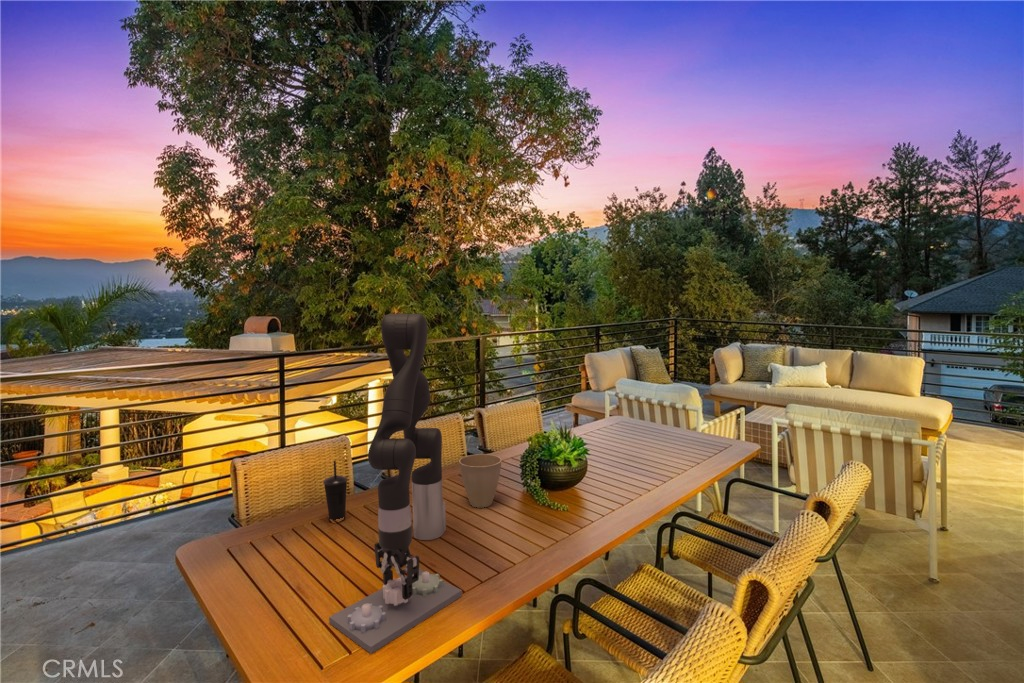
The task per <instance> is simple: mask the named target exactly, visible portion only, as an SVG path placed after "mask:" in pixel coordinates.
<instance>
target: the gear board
mask: <svg viewBox="0 0 1024 683" xmlns="http://www.w3.org/2000/svg"><path fill="white" fill-rule="evenodd" d="M413 576H414V574H413ZM405 577H406V578H407V575H405ZM397 588H401V587H395V588H394V589H397ZM412 592H413V594H412V597H410V598H408V602H406V603H404V602H403V603H399V604H398V605H396V606H394V604H390V603H389V604H386V603H385V599H383V587H382V588H380V589H379V590H376V591H375V592H372V593H371V594H369V595H367V596H366V597H364V598H362V599H360V600H358V601H356V602H354V603H352V604H351V605H349V606H347V607H345V608H342V609H341V610H339V611H338V612H336V613H334V614H332V615H330V616H328V621H329V622H328V623H329V625H331V626H333V628H335V629H336V628H337V629H336V630H338V631H339V632H341V633H342V634H343V635H344V636H346V637H347V638H348V639H350V640H351V641H353V642H354V643H356V644H357V645H358V646H359V647H361V648H362V649H364V650H365V651H366V652H368V653H369V654H371V655H372V654H374V653H375V652H376V651H378V650H380V649H382V648H383V647H384V646H386V645H387V644H389V643H391V642H392V641H394V640H395V639H397V638H398V637H400V636H402V635H403V634H406V632H408V631H409V630H411V629H412V628H414V627H415V626H417V625H419V624H421V623H422V622H424V621H425V620H427V619H428V618H430V617H432V616H433V615H435V614H436V613H438V612H440V611H441V610H442V609H444V608H446V607H448V606H449V605H450V604H452V603H454V602H455V601H457V600H458V599H460V598H461V597H463V590H462V589H460V588H458V587H456V586H454V585H452V584H450V583H449V582H446V581H444V580H443V578H440V574H439V573H435V574H433V573H430V572H429V571H427V570H426V571H425V570H422V569H421V568H419V580H418V581H416V582H414V583H412ZM373 652H374V653H373Z"/></svg>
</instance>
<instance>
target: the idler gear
mask: <svg viewBox="0 0 1024 683" xmlns="http://www.w3.org/2000/svg"><path fill="white" fill-rule="evenodd" d="M387 582H388V583H387V584H386V585H384V584H383V585H382V588H383V599H385V603H386V604H389V603H390V604H394V606H396V605H398V604H399V603H403V602H404V603H406V602H408V599H406V600H405V599H403V597H402V584H403V583H402V580H401V577H400V576H399V577H397V578H395V579H393V580H388V581H387ZM395 587H401V588H397V589H394V588H395ZM411 597H412V596H411Z"/></svg>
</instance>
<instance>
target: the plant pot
mask: <svg viewBox="0 0 1024 683" xmlns="http://www.w3.org/2000/svg"><path fill="white" fill-rule="evenodd" d="M502 461H503V460H502V458H501V457H500V456H498V455H494V454H487V453H481V454H480V453H478V454H470V455H466V456H463V457H461V458H460V459H459V461H458V463H459V467H460V468H459V469H460V474H461V479H462V483H463V487H464V490H465V493H466V496H467V498H468V501H469V504H470V506H471V505H472V506H471V507H473V508H476V507H477V508H478V509H485V508H488V507H490V506H491V505H492V504H493V501H494V498H495V495H496V492H497V488H498V485H499V484H498V483H499V479H500V475H501V474H500V473H501V468H502ZM484 507H485V508H484Z"/></svg>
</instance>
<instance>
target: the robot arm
mask: <svg viewBox="0 0 1024 683" xmlns="http://www.w3.org/2000/svg"><path fill="white" fill-rule="evenodd" d="M380 327H381V328H380V329H381V330H380V331H381V337H382V342H383V346H384V349H385V352H386V355H387V358H388V361H389V365H390V368H391V372H392V378H393V379H392V380H391V381H390V383H389V385H388V386H387V388H386V390H385V393H384V397H383V402H382V411H381V416H380V422H379V423H378V426H377V430H376V432H375V434H374V436H373V439H372V440H371V443H370V446H369V448H368V454H367V458H368V463H369V465H370V466H371V468H372V469H375V470H376V471H377V470H378V471H379V470H380V471H382V470H383V471H384V470H386V471H389V470H390V471H393V470H395V471H398V474H396V475H394V476H390V477H387V478H384V479H382V480H380V481H379V483H378V485H377V495H378V496H377V497H378V512H377V520H378V521H377V523H378V524H377V526H378V542H376V543H374V555H375V564H376V565H375V566H376V568H377V569H380V571H381V572H380V573H382V583H383V585H386V584H387V583H388V582H387V581H388V580H394V572H393V571H394V570H392V569H393V568H394V569H395V571H396V574H397V576H399V577H401V580H402V583H403V584H402V597H403V599H405V600H406V599H408V598H410V597H411V596H412V594H413V592H412V583H414V582H416V581H418V580H419V569H420V557H419V556H418V555H416V556H413V555H411V552H410V551H411V550H410V545H411V543H412V541H413V537H414V538H415V539H417V540H420V541H432V540H436V539H438V538H441V537H442V536H443V535H444V532H446V531H447V519H446V518H447V517H446V516H447V514H446V501H445V500H443V499H444V498H443V494H444V493H443V474H442V472H443V470H442V469H443V468H442V467H443V466H442V463H443V462H442V460H443V459H442V453H443V452H442V449H443V436H442V432H441V430H440V428H438V427H416V426H417V424H418V421H419V420H420V419H421V418H422V416H423V415H424V414H425V412H426V411H427V409H428V407H429V406H430V403H431V392H430V385H429V382H428V378H427V377H426V375H425V374H424V372H422V371H421V369H422V368H421V367H422V363H423V359H424V355H425V351H426V346H427V345H426V344H427V340H428V322H427V320H426V317H425V316H424V315H423V314H421V313H389V314H388V313H387V314H386V315H384V316H383V318H382V320H381V326H380ZM404 350H405V351H406V350H407V351H408V350H409V351H410V352H409V354H408V356H407V355H406V353H405V351H404ZM402 431H403V438H398V437H397V438H392V436H393V435H394V434H395V433H398V432H402ZM419 459H420V460H421V459H422V460H425V459H427V460H428V459H429V460H430V461H429V462H428V463H426V464H424V465H422V466H419V467H417V468H415V469H414V470H413V467H414V464H415V460H419ZM410 483H411V494H412V495H411V494H410ZM410 495H411V496H412V497H411V498H412V500H411V499H410ZM410 500H411V502H412V509H411V503H410ZM412 527H413V528H412ZM381 558H382V560H381ZM405 566H406V567H405ZM404 567H405V568H404ZM402 568H403V569H402ZM405 573H406V574H407V575H406V574H405ZM413 574H414V576H413ZM405 576H407V578H406V577H405Z"/></svg>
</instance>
